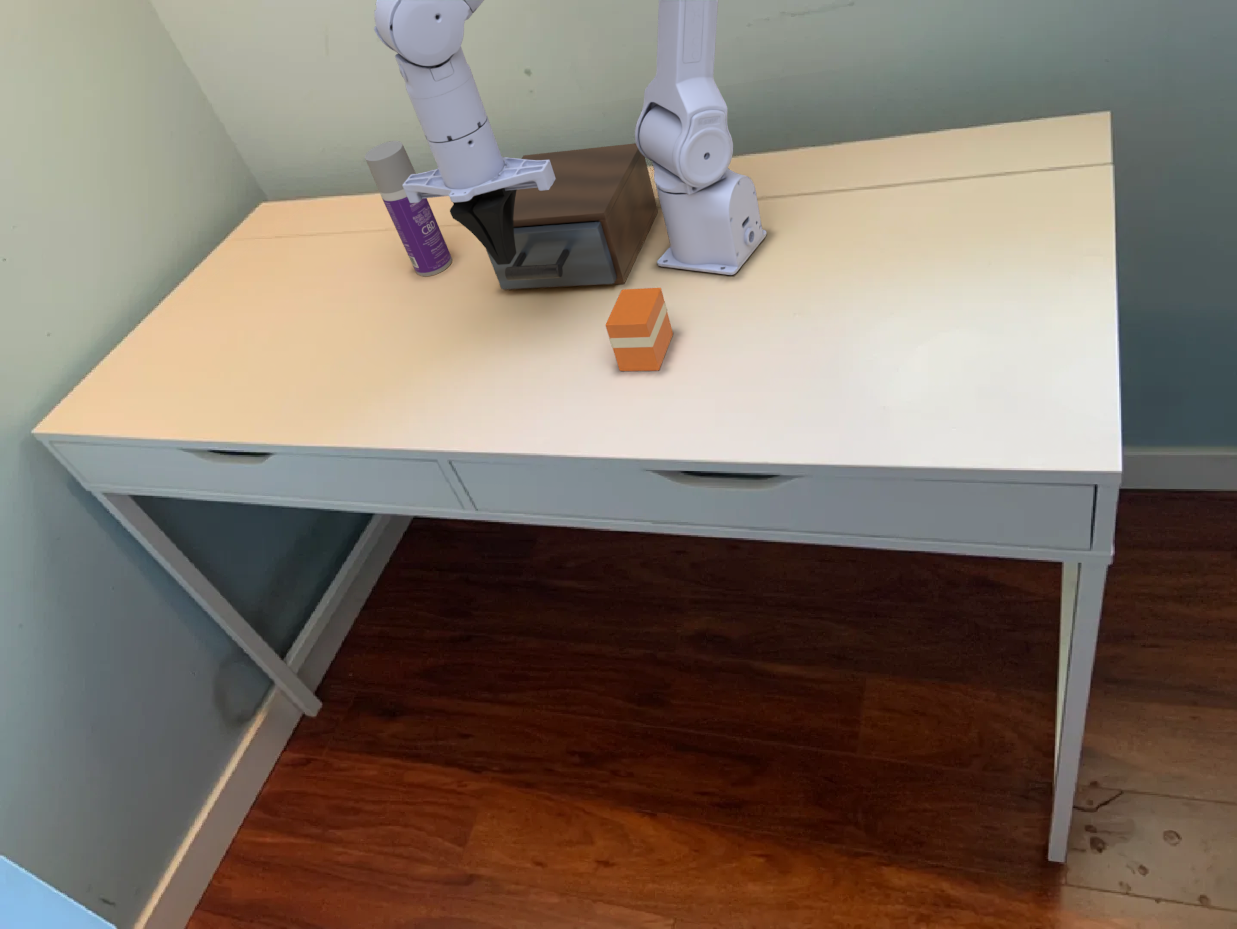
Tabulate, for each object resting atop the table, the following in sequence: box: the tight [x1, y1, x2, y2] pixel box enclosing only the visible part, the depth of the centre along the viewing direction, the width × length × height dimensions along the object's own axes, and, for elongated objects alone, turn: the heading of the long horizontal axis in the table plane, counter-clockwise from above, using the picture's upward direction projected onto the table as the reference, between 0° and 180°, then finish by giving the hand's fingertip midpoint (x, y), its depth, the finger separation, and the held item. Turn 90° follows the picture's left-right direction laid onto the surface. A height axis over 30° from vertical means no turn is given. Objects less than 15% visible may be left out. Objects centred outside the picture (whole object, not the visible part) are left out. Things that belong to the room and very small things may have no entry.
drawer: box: [485, 220, 617, 290], centre depth 104 cm, size 18×13×7 cm
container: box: [364, 140, 453, 277], centre depth 111 cm, size 5×5×15 cm
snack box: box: [605, 287, 674, 372], centre depth 91 cm, size 6×4×6 cm
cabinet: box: [502, 142, 659, 291], centre depth 107 cm, size 15×15×9 cm
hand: (506, 258), depth 93 cm, fingers closed
